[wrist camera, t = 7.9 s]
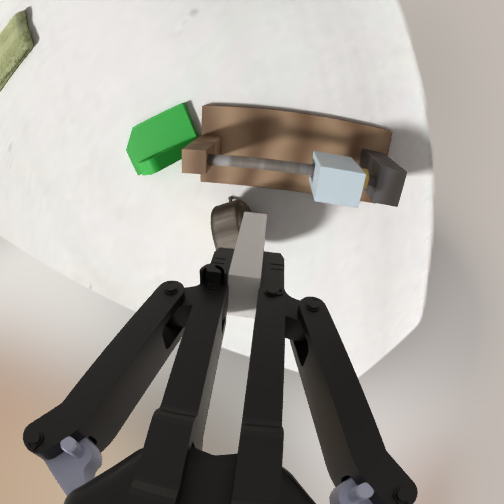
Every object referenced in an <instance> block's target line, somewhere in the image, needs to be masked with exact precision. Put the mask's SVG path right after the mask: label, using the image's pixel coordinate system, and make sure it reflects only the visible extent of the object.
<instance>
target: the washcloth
mask: <svg viewBox="0 0 504 504" xmlns="http://www.w3.org/2000/svg"><path fill="white" fill-rule="evenodd" d="M33 45H34V44H33V41H32V38H31V35H30V31H29V30H28V26H27V19H26V13H25V11H21V12H18V13H17V14H15V15H14V16H13V17H12V18H11V20H10V21H9V23H8V24H7V26H6V27H5V28H4V29H3V31H2V32H1V33H0V91H1V89H2V88H3V87H4V85H5V84H6V82H7V81H8V79H9V78H10V77H11V75H12V74H13V72H14V71H15V70H16V69H17V67H18V66H19V65H20V64H21V62H22V61H23V60H24V58H25V57H26V56H27V55H28V53H29V52H30V51H31V50H32V47H33Z"/></svg>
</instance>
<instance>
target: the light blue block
mask: <svg viewBox="0 0 504 504" xmlns="http://www.w3.org/2000/svg"><path fill="white" fill-rule="evenodd" d="M312 164H313V165H315V170H314V176H310V177H309V182H310V186H311V190H312V193H313V197H314V201H315V202H323V203H330V204H336V205H343V206H349V207H356V208H358V206H359V202H360V198H361V194H362V190H363V186H364V182H365V177H366V173H365V172H364V171H363V170H362V169H361V168H360V166H359V165H358V164H357V163H356V162H355V161H354V160H353V158H352V157H347V156H342V155H336V154H330V153H324V152H318V151H313V158H312Z"/></svg>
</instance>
